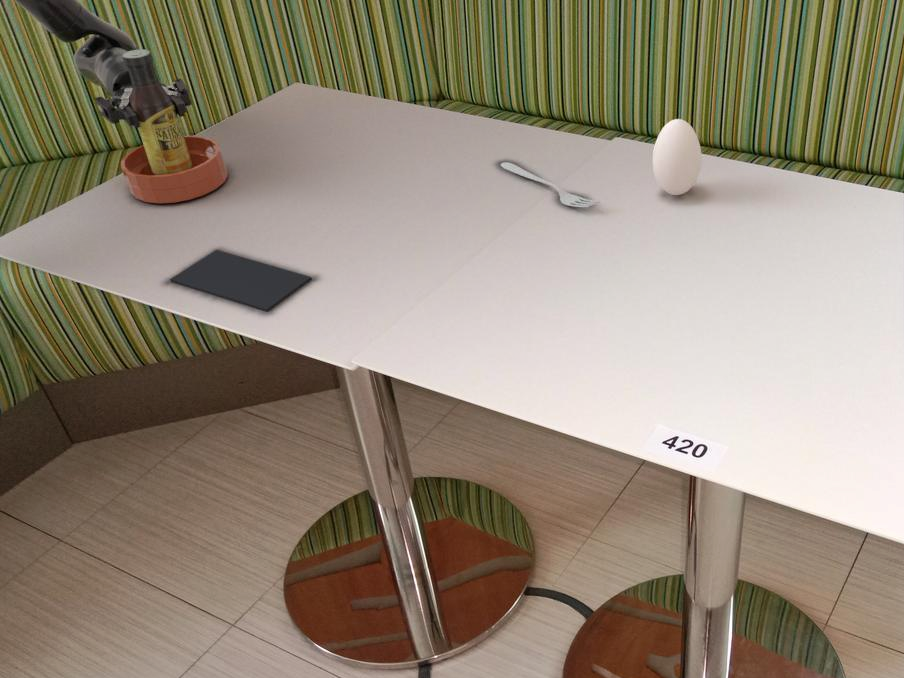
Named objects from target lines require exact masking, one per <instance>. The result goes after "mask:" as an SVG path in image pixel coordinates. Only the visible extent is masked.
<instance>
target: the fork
mask: <svg viewBox="0 0 904 678" xmlns="http://www.w3.org/2000/svg"><path fill="white" fill-rule="evenodd" d="M500 167H501V168H502V169H504V170H507V171H508V172H511V173H513V174H516V175H519V176H520V177H521V176H522V177H524V178H526V179H529V180H532V181H535V182H537V183H541V184H544V185H548V186H550V187H551V188H553V189H555V190H556V191H557V192H558V195H559V199H560V202H561V204H563V205H565V206H567V207H568V206H569V207H573V208H589V207H593V206H594V205H598V204H601V203H602V201H600V200H592V199H588V198H583V197H581V196H578V195H575V194H573V193H570V192H567V191H566V190H564V189H562V187H560V186H558V185H557V184H555V183H553V182H550V181H548V180H545V179H543V178H541V177H540V176H537V175H536V174H533V173H531V172H529V171H527V170H525V169H523V168H522V167H520V166H518V165H517V164H514V163H511V162H507V161H505V162H502V163H500Z"/></svg>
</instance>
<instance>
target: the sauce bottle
mask: <svg viewBox="0 0 904 678" xmlns="http://www.w3.org/2000/svg"><path fill="white" fill-rule="evenodd" d="M122 57H123V60H124V64H125V65H126V66H127V68H128V71H129V75H130V78H131V82H132V84H133V89H132V93H131V97H130V103H131V107H132V109H133V111H134V112H135V114H136V116H137V118H138V121H139V124H140V127H138V128H137V130H138V133H139V137H140V138H141V139H140V140H141V142H142V145H144V148H145V151H146V154H147V158H148V160H149V163H150V166H151V170H152V172H153V173H154V175H166V174H172V173H177V172H181V171H185V170H188V169H191V168H192V162H191V158H190V155H189V152H188V148H187V145H186V142H185V138H184V136H185V135H184V132H183V128H182V125H181V123H180V119H179V115H178V114H177V112H176V109H175V106H174V104H173V102H172V101H171V99H170V98H169V96H168V95H167V93H166V92H165V90H164V89H163V87H162V86H161V84H160V83H161V82H160V81H159V77H158V76H157V73H156V70H155V67H154V63H153V62H154V59H153V55H152V53H151V51H150V50H148V49H142V48H141V49H137V50H132V51H128V52H126V53H124V54H123V55H122Z"/></svg>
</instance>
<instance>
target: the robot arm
mask: <svg viewBox="0 0 904 678" xmlns="http://www.w3.org/2000/svg"><path fill="white" fill-rule="evenodd" d="M14 2H15V3H17V4H18V5H20V6H21V8H22V9H24V10H25V11H26V12H27V13H28V14H29V15H30V16H32V17H33V19H35V20H36V21H37V22H38V23H39V24H40V25H41V26H42V27H44V28H45V29H46V31H48V32H49V33H51V35H53V37H55V38H56V39H57V40H58V41H60V42H62V43H66V44H71V43H74V42H77V41H79V40H81V39H83V38H85V37H87V36H90V35H91V36H90V37H89V38H88V39H87V40H86V41H84V42H83V44H81V45H80V46H79V47H78V48H77V49H76V51H75V53H74V55H73V64H74V66H75V69H77V71H78V73H79V74H80V75H81V76H83V77H84V78H85V79H86V80H87V81H89V82H90V83H92V84H94V85H95V86H98V87H101V88H104V89H105V90H106V93H107V94H108V96H109V97H111V98H110V99H109V98H107V97H106V98H104V97H103V96H98V97H95V98H94V101H95V103H96V106H97V108H98V109H97V110H98V111H99V115H100V116H102V117H103V118H104V119H106V120H107V121H108V122H109V123H111V124H112V125H113V124H114V125H115V124H119V123H120V121H121V120H123V122H124V123H126V124H127V125H128V126H130V127H133V128H134V129H138V127H140V124H139V121H138V118H137V116H136V114H135V112H134V111H133V109H132V107H131V103H130V97H131V93H132V89H133V84H132V82H131V78H130V75H129V71H128V68H127V66H126V65H125V64H124V60H123V57H122V55H123V54H124V53H126V52H128V51H132V50H138V48H137V45H136V43H135V41H134V40H133V39H132V37H130V36H129V34H128V33H126V32H125V31H123V30H122V29H120V28H119V27H117V26H115V25H113V24H111V23H109V22H108V21H106V20H104V19H102V18H100V17H99V16H98V15H95V14H94V13H93V12H91V11H90V10H89V9H87V7H85V6H84V5H83V4H82V3H81V2H80V1H78V0H14ZM173 80H174V82H172V84H170V85H166V83H164V82H160V84H161V86H162V87H163V89H164V90H165V92H166V93H167V95H168V96H169V98H170V99H171V101H172V102H173V104H174V106H175V109H176V112H177V116H178V117H180V118H182V117H185V116H186V115H185V113H187V112H188V110H187V107H190V106H192V105H193V103H192V100H191V97H190V94H189V89H188V87H187V86H186V84H185V82H184V80H183V79H182V78H179V77H178V78H175V79H173Z"/></svg>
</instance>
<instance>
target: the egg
mask: <svg viewBox="0 0 904 678" xmlns="http://www.w3.org/2000/svg"><path fill="white" fill-rule="evenodd" d="M652 151H653V152H652V171H653V175H654V177H655V180H656V182H657V184H658V185H659V187H660V188H661V189H662V190H663V191H664V192H666V193H667V194H669V195H671V196H682V195H683V194H686V193H687V192H688V191H689V190H691V188H693V186H694V185H695V184H696V183H697V181H698V178H699V175H700V172H701V170H702V169H701V168H702V149H701V144H700V141H699V138H698V136H697V133H696V132H695V129H694V128H693V127H692V125H691V124H690V123H689V122H687V121H686V120H684V119H681V118H675V119H672V120H670V121H668V122H667V123H666V124H665V125H664V126H663V127H662V128H661V130H660V132H659V134H658V135H657V138H656V141H655V143H654V147H653V150H652Z"/></svg>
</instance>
